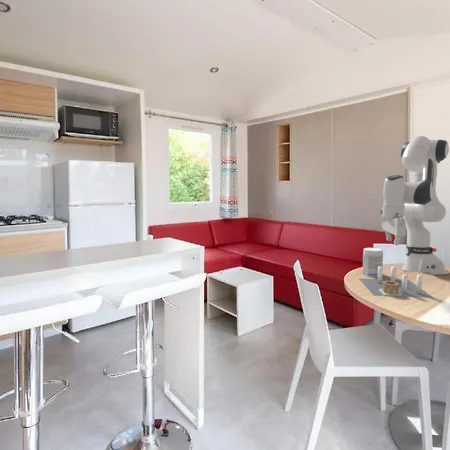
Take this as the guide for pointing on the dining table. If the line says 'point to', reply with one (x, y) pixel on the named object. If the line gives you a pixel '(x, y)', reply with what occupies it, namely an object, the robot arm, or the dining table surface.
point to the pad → (390, 294)
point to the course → (405, 285)
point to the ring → (390, 287)
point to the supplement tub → (372, 261)
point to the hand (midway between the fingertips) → (392, 242)
